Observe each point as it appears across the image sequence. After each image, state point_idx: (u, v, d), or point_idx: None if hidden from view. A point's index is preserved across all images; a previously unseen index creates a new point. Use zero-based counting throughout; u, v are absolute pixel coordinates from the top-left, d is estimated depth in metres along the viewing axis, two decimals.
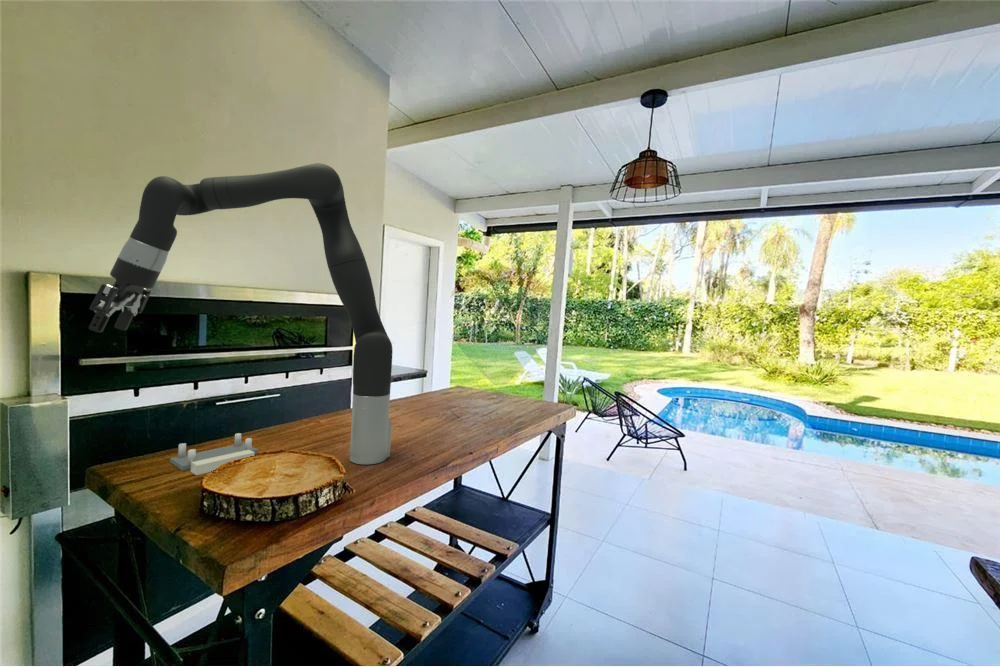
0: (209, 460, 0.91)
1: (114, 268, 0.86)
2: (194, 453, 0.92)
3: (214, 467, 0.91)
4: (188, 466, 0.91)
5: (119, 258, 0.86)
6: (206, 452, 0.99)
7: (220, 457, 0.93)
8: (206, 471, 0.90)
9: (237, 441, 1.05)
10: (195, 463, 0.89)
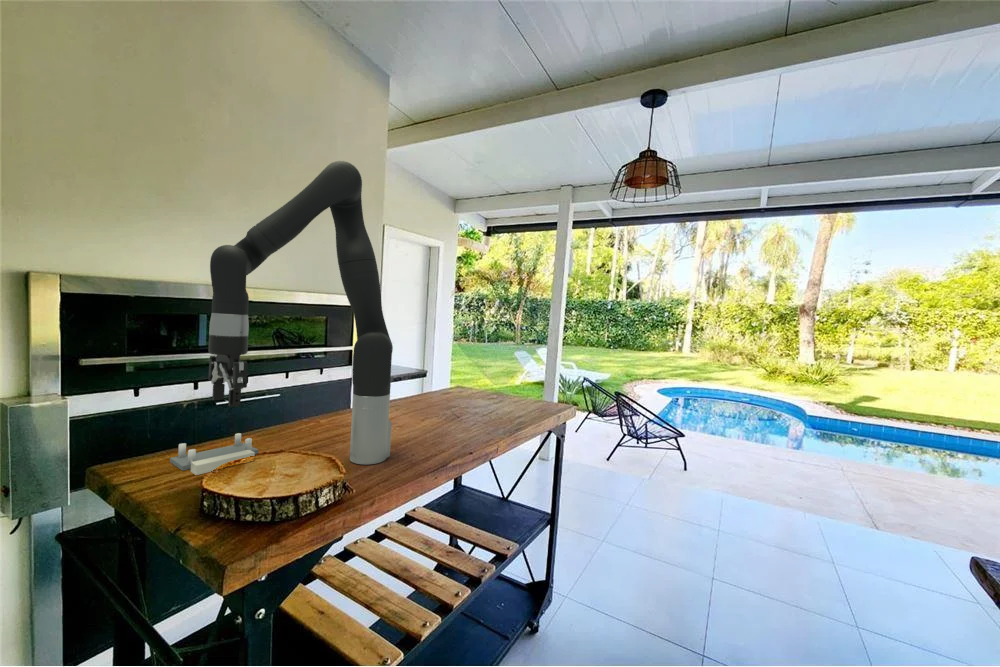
0: (209, 460, 0.91)
1: (221, 346, 0.89)
2: (194, 453, 0.92)
3: (214, 467, 0.91)
4: (188, 466, 0.91)
5: (222, 336, 0.89)
6: (206, 452, 0.99)
7: (220, 457, 0.93)
8: (206, 471, 0.90)
9: (237, 441, 1.05)
10: (195, 463, 0.89)
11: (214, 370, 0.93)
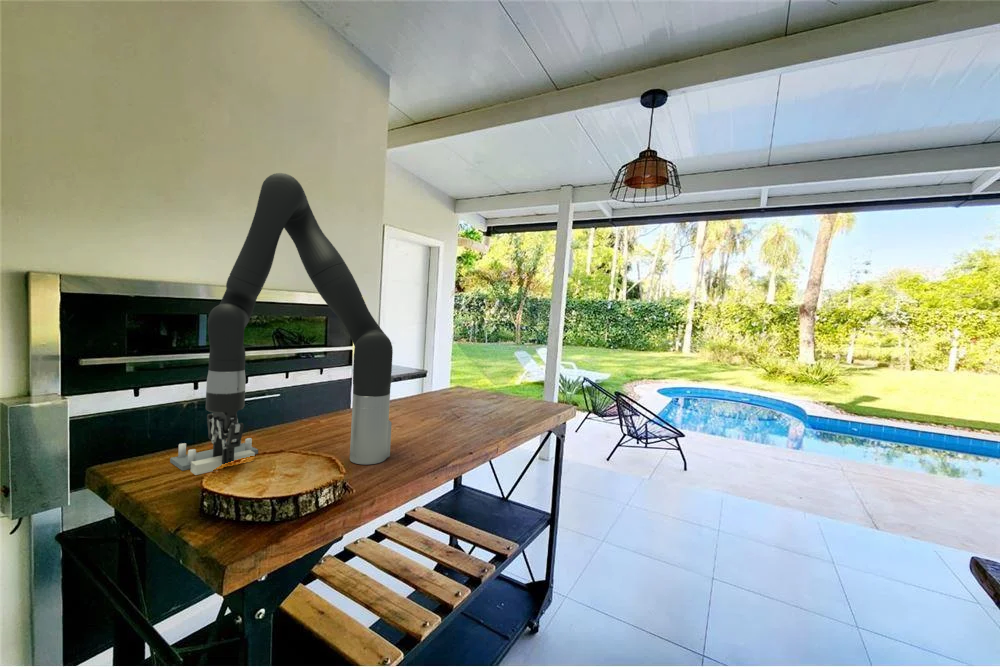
0: (209, 460, 0.91)
1: (218, 404, 0.90)
2: (194, 453, 0.92)
3: (213, 467, 0.91)
4: (188, 466, 0.91)
5: (219, 394, 0.90)
6: (206, 452, 0.99)
7: (220, 457, 0.93)
8: (205, 471, 0.90)
9: None
10: (195, 463, 0.89)
11: (212, 427, 0.94)
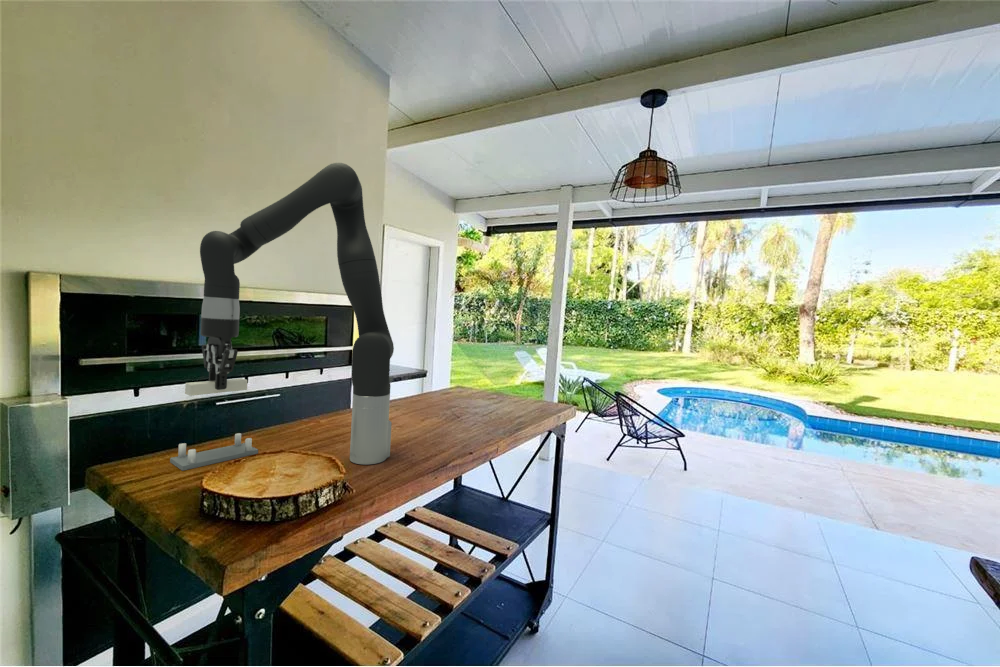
0: (203, 382, 0.94)
1: (213, 329, 0.93)
2: (194, 453, 0.92)
3: (208, 389, 0.94)
4: (188, 466, 0.91)
5: (214, 318, 0.93)
6: (206, 452, 0.99)
7: (214, 381, 0.97)
8: (200, 392, 0.93)
9: (237, 441, 1.05)
10: (189, 383, 0.92)
11: (207, 354, 0.96)
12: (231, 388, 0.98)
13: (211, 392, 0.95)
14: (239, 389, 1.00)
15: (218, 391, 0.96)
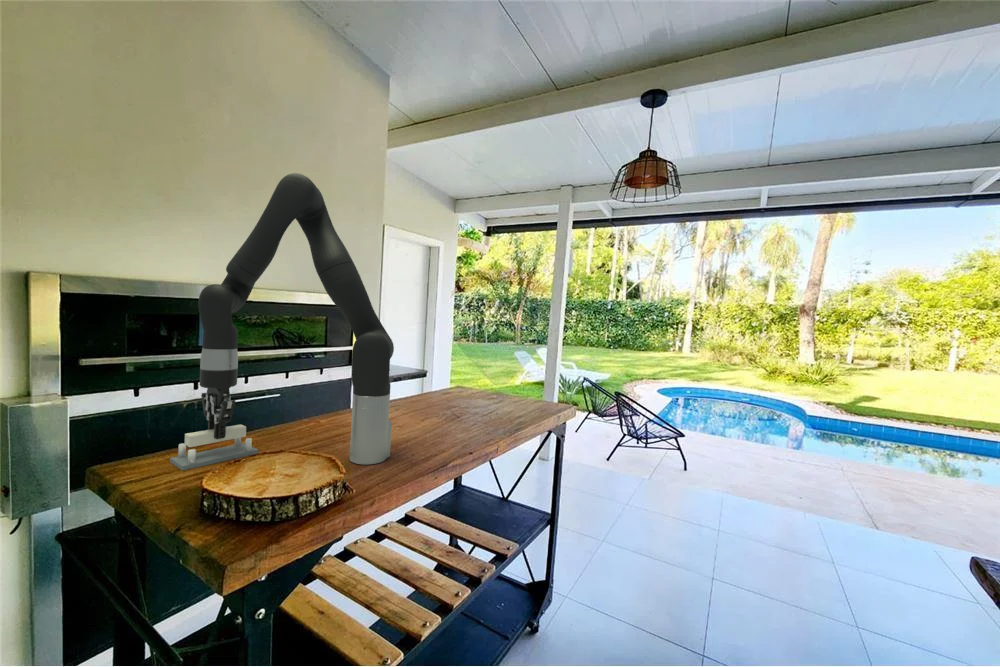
0: (202, 432, 0.96)
1: (212, 380, 0.94)
2: (194, 453, 0.92)
3: (207, 439, 0.96)
4: (188, 466, 0.91)
5: (212, 370, 0.94)
6: (206, 452, 0.99)
7: (213, 430, 0.98)
8: (199, 442, 0.94)
9: (237, 441, 1.05)
10: (188, 434, 0.94)
11: (206, 404, 0.98)
12: (230, 436, 1.00)
13: (210, 442, 0.96)
14: (238, 436, 1.01)
15: (217, 440, 0.97)
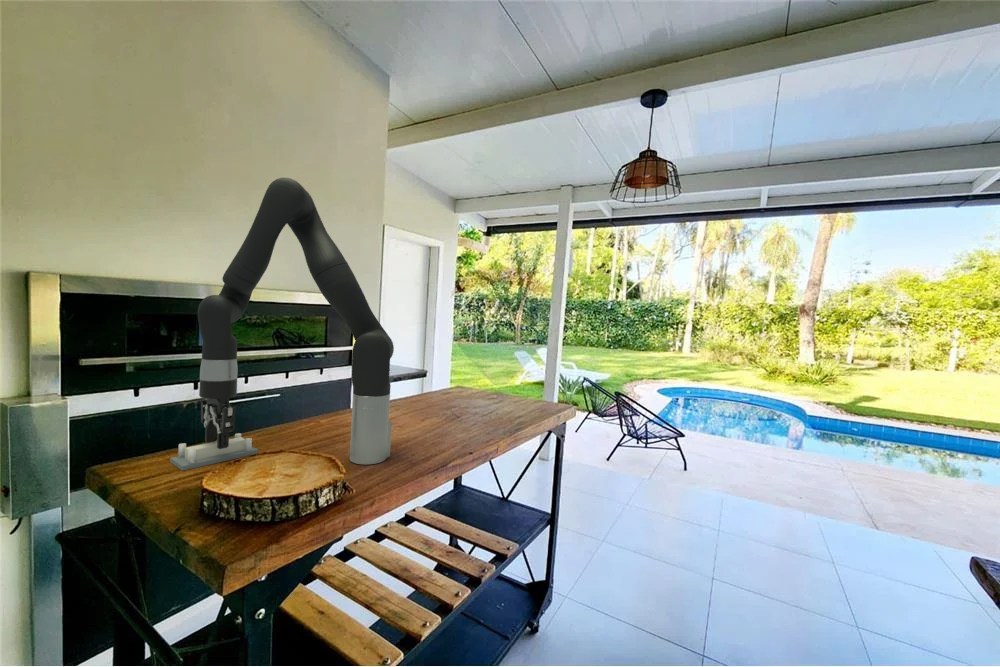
0: (202, 446, 0.96)
1: (211, 391, 0.94)
2: (194, 453, 0.92)
3: (207, 453, 0.96)
4: (188, 466, 0.91)
5: (212, 381, 0.94)
6: None
7: (213, 443, 0.98)
8: (199, 456, 0.94)
9: None
10: (189, 448, 0.94)
11: (205, 413, 0.98)
12: (230, 449, 1.00)
13: (210, 455, 0.96)
14: (238, 449, 1.01)
15: (217, 454, 0.97)
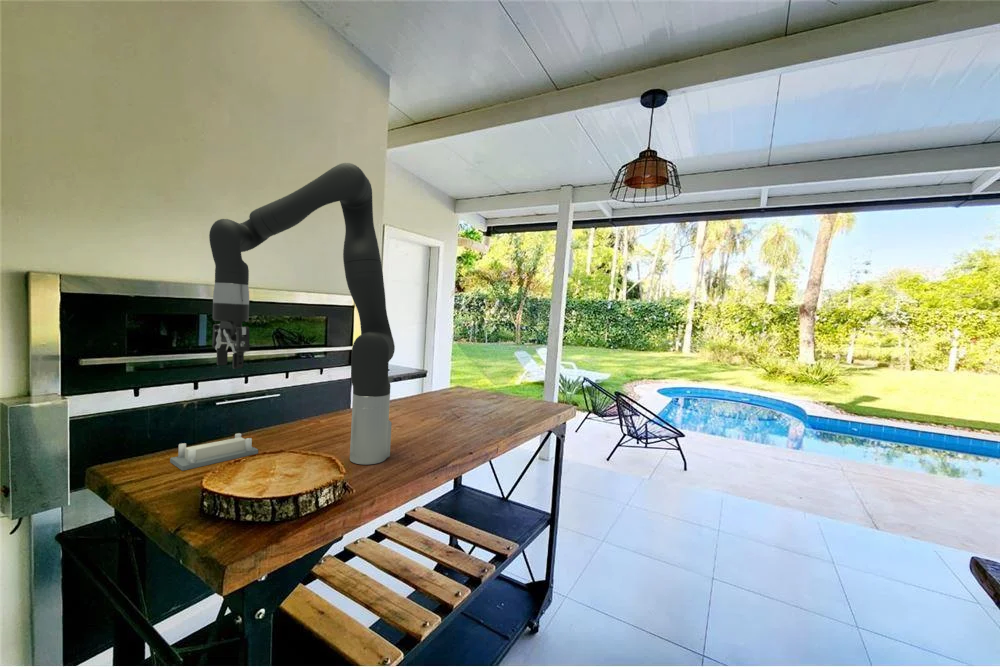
0: (202, 446, 0.96)
1: (225, 313, 0.97)
2: (194, 453, 0.92)
3: (207, 453, 0.96)
4: (188, 466, 0.91)
5: (225, 303, 0.97)
6: None
7: (213, 443, 0.98)
8: (199, 456, 0.94)
9: None
10: (189, 448, 0.94)
11: (218, 336, 1.01)
12: (230, 449, 1.00)
13: (210, 455, 0.96)
14: (238, 449, 1.01)
15: (217, 454, 0.97)
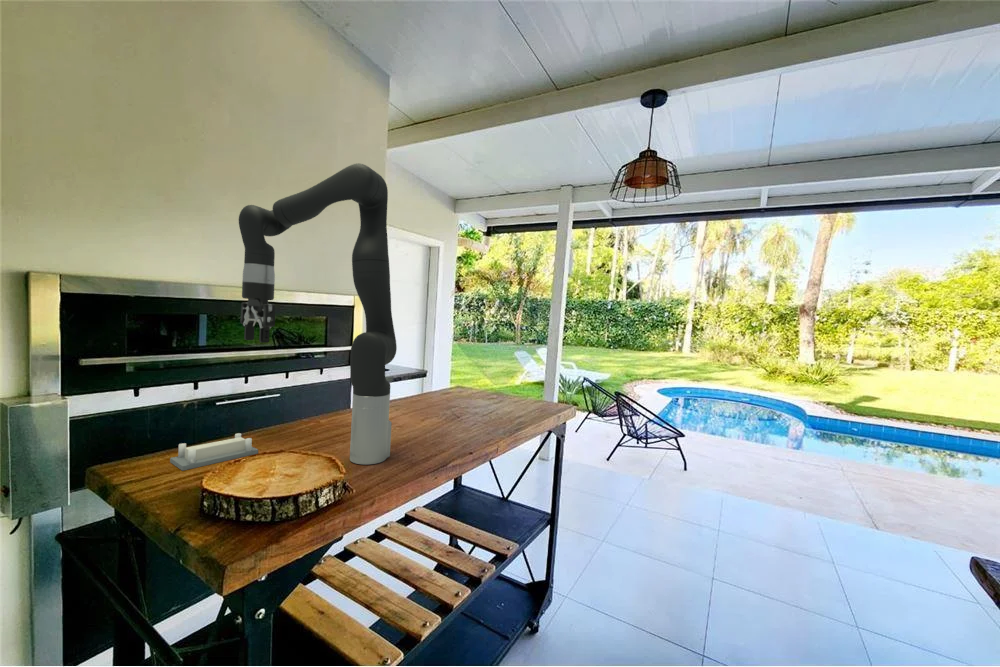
0: (202, 446, 0.96)
1: (253, 291, 1.06)
2: (194, 453, 0.92)
3: (207, 453, 0.96)
4: (188, 466, 0.91)
5: (254, 282, 1.06)
6: None
7: (213, 443, 0.98)
8: (199, 456, 0.94)
9: None
10: (189, 448, 0.94)
11: (246, 313, 1.10)
12: (230, 449, 1.00)
13: (210, 455, 0.96)
14: (238, 449, 1.01)
15: (217, 454, 0.97)
